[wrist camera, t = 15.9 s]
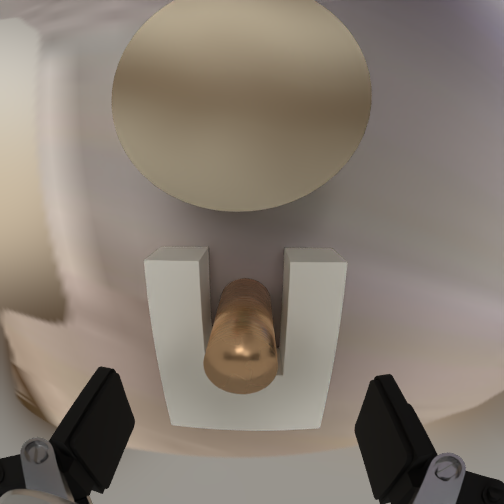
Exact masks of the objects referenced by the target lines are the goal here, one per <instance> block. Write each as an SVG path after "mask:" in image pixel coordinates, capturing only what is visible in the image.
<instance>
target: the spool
mask: <svg viewBox="0 0 504 504" xmlns="http://www.w3.org/2000/svg"><path fill="white" fill-rule="evenodd" d="M370 109H371V81H370V75H369V71H368V67H367V64H366V61H365V58H364V56H363V53H362V51H361V49H360V47H359V45H358V43H357V42H356V40H355V39H354V37H353V36H352V34H351V33H350V31H349V30H348V29H347V28H346V27H345V26H344V24H343V23H342V22H341V21H340V20H339V19H338V18H337V17H336V16H335V15H333V14H332V13H331V12H330V11H329V10H327V9H326V8H325V7H323V6H322V5H320V4H319V3H317V2H316V1H314V0H174V1H173V2H171V3H169V4H167V5H166V6H165V7H163V8H162V9H160V10H159V11H158V12H156V13H155V14H154V15H153V16H152V17H151V18H150V19H149V20H147V21H146V22H145V23H144V24H143V25H142V27H141V28H140V29H139V30H138V31H137V33H136V34H135V35H134V36H133V38H132V39H131V41H130V42H129V44H128V45H127V47H126V49H125V51H124V53H123V55H122V57H121V59H120V61H119V64H118V67H117V70H116V73H115V77H114V82H113V88H112V113H113V121H114V125H115V128H116V132H117V135H118V138H119V140H120V142H121V145H122V147H123V149H124V151H125V152H126V154H127V155H128V157H129V159H130V160H131V162H132V163H133V164H134V165H135V167H136V168H137V169H138V170H139V171H140V172H141V174H142V175H144V176H145V177H146V178H147V179H148V180H149V181H150V182H151V183H153V184H154V185H155V186H157V187H158V188H160V189H161V190H163V191H164V192H166V193H167V194H169V195H171V196H173V197H175V198H177V199H179V200H181V201H183V202H186V203H189V204H192V205H195V206H198V207H202V208H207V209H212V210H217V211H230V212H245V211H258V210H263V209H269V208H274V207H277V206H280V205H284V204H287V203H290V202H293V201H295V200H297V199H299V198H301V197H304V196H306V195H308V194H310V193H311V192H313V191H314V190H316V189H318V188H319V187H321V186H322V185H324V184H325V183H326V182H327V181H329V180H330V179H331V178H332V177H333V176H335V175H336V174H337V173H338V172H339V171H340V170H341V169H342V167H343V166H344V165H345V164H346V163H347V162H348V161H349V159H350V158H351V156H352V155H353V153H354V152H355V150H356V149H357V147H358V145H359V143H360V141H361V139H362V137H363V135H364V133H365V130H366V127H367V123H368V120H369V116H370Z"/></svg>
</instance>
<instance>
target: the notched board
mask: <svg viewBox="0 0 504 504" xmlns="http://www.w3.org/2000/svg"><path fill="white" fill-rule="evenodd" d="M144 268H145V278H146V287H147V296H148V304H149V311H150V318H151V325H152V332H153V338H154V344H155V350H156V355H157V361H158V366H159V371H160V376H161V381H162V386H163V391H164V395H165V400H166V404H167V408H168V412H169V417H170V421H171V424H172V425H176V426H185V427H194V428H206V429H220V430H244V431H276V430H300V429H315V428H320V425H321V421H322V417H323V412H324V408H325V403H326V399H327V394H328V389H329V384H330V379H331V374H332V369H333V364H334V358H335V352H336V347H337V340H338V334H339V328H340V321H341V314H342V306H343V298H344V290H345V281H346V272H347V261H345V260H344V259H343V258H342V257H341V256H340V255H339V254H338V253H337V252H336V251H335V250H334V249H333V248H284V270H283V293H282V313H281V331H280V348H276V351H277V359H278V372H277V375H276V377H275V379H274V380H273V381H272V382H271V384H270V385H268V386H267V387H266V388H264V389H262V390H260V391H258V392H255V393H251V394H234V393H229V392H226V391H224V390H222V389H220V388H218V387H217V386H215V385H214V384H213V383H212V382H211V381H210V380H209V379H208V377H207V376H206V374H205V371H204V367H203V361H204V356H205V353H206V349H207V345H208V342H209V338H210V335H211V331H212V322H211V302H210V279H209V248H208V247H160V248H159V249H158V250H156V251H155V252H154V253H152V254H151V255H150V256H148V257H147V258H146V259H145V260H144Z"/></svg>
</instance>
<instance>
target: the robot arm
mask: <svg viewBox="0 0 504 504" xmlns="http://www.w3.org/2000/svg"><path fill="white" fill-rule="evenodd" d="M134 425H135V419H134V416H133V414H132V411H131V408H130V405H129V403H128V400H127V397H126V394H125V391H124V388H123V385H122V382H121V379H120V376H119V374H118V373H116V371H115V370H114V369H111V368H106V367H99V368H98V369H97V370H96V372H95V373H94V375H93V376H92V377H91V379H90V380H89V382H88V383H87V385H86V386H85V387H84V389H83V390H82V392H81V393H80V395H79V396H78V398H77V399H76V400H75V402H74V403H73V405H72V406H71V408H70V409H69V411H68V412H67V414H66V415H65V417H64V418H63V420H62V421H61V423H60V425H59V426H58V428H57V429H56V431H55V433H54V434H53V435H52V437H51V439H50V440H49V441H47V440H46V439H44V438H39V437H37V438H32V439H29V440H28V441H26V442H25V443H24V444H23V446H22V448H21V453H20V454H19V455H15V456H10V457H6V458H1V459H0V504H93V503H92V501H91V498H90V496H89V495H90V493H91V490H93V491H96V492H99V493H102V494H103V492H104V489H107V488H109V486H110V484H111V481H112V479H113V476H114V474H115V471H116V469H117V466H118V464H119V461H120V459H121V456H122V454H123V452H124V449H125V447H126V445H127V442H128V440H129V437H130V435H131V433H132V430H133V428H134ZM355 435H356V438H357V441H358V444H359V448H360V451H361V454H362V457H363V461H364V464H365V467H366V471H367V474H368V478H369V481H370V485H371V488H372V492H373V495H374V498H375V499H376V500H377V499H379V502H380V504H386V503H390V502H391V504H504V483H503V482H502V481H500V480H497V479H493V478H489V477H485V476H481V475H479V474H475V473H472V472H468V471H465V469H466V467H465V463H464V461H463V460H462V458H460V457H459V456H458V455H456V454H453V453H442V454H440V455H437V453H436V451H435V449H434V447H433V445H432V443H431V441H430V439H429V437H428V435H427V433H426V431H425V429H424V427H423V426H422V424H421V422H420V420H419V418H418V416H417V414H416V413H415V411H414V409H413V407H412V406H411V405H410V404H408V403H407V401H406V399H405V398H404V396H403V394H402V392H401V390H400V389H399V387H398V385H397V383H396V382H395V380H394V378H393V376H392V375H391V374H387V375H379V376H376V377H375V378H374V380H371V381H370V384H369V387H368V390H367V393H366V396H365V399H364V402H363V405H362V408H361V411H360V413H359V416H358V419H357V422H356V424H355Z"/></svg>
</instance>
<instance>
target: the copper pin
mask: <svg viewBox="0 0 504 504" xmlns="http://www.w3.org/2000/svg"><path fill="white" fill-rule="evenodd" d="M203 367H204V371H205V374H206V376H207V377H208V379H209V380H210V381H211V382H212V383H213V384H214V385H215V386H217V387H218V388H220V389H222V390H224V391H226V392H229V393H234V394H251V393H255V392H258V391H260V390H262V389H264V388H266V387H267V386H268V385H270V384H271V382H272V381H273V380H274V379H275V377H276V375H277V372H278V359H277V351H276V342H275V333H274V325H273V317H272V308H271V300H270V295H269V293H268V291H267V289H266V288H265V287H264V286H263V285H262V284H261V283H260V282H258V281H256V280H253V279H247V278H243V279H238V280H235V281H233V282H231V283H230V284H228V285H227V286H226V287H225V289H224V290H223V292H222V295H221V299H220V302H219V306H218V309H217V313H216V317H215V320H214V324H213V327H212V331H211V335H210V338H209V342H208V345H207V349H206V353H205V356H204V361H203Z"/></svg>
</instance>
